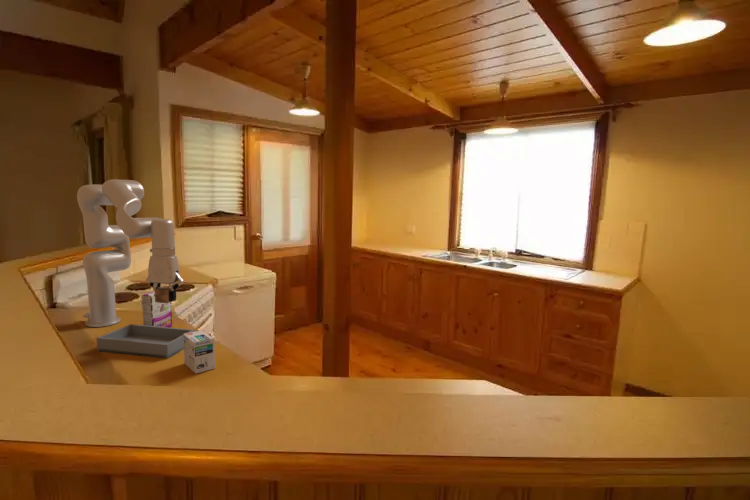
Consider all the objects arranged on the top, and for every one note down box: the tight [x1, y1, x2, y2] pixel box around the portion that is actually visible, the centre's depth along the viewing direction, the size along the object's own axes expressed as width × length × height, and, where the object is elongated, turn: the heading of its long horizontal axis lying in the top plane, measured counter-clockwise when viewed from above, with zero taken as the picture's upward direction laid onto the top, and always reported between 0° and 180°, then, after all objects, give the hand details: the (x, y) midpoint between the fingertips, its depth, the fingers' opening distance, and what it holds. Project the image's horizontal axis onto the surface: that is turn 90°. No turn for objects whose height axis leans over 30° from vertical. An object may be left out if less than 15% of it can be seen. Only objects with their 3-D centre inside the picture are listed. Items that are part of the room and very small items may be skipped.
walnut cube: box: [154, 285, 173, 303], centre depth 147 cm, size 5×5×5 cm
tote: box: [96, 323, 196, 360], centre depth 146 cm, size 28×16×5 cm, turn 81°
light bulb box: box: [183, 329, 216, 374], centre depth 131 cm, size 11×7×11 cm, turn 44°
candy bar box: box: [141, 290, 173, 328], centre depth 163 cm, size 11×5×16 cm, turn 168°
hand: (165, 299), depth 147 cm, fingers closed on walnut cube, 5 cm apart
